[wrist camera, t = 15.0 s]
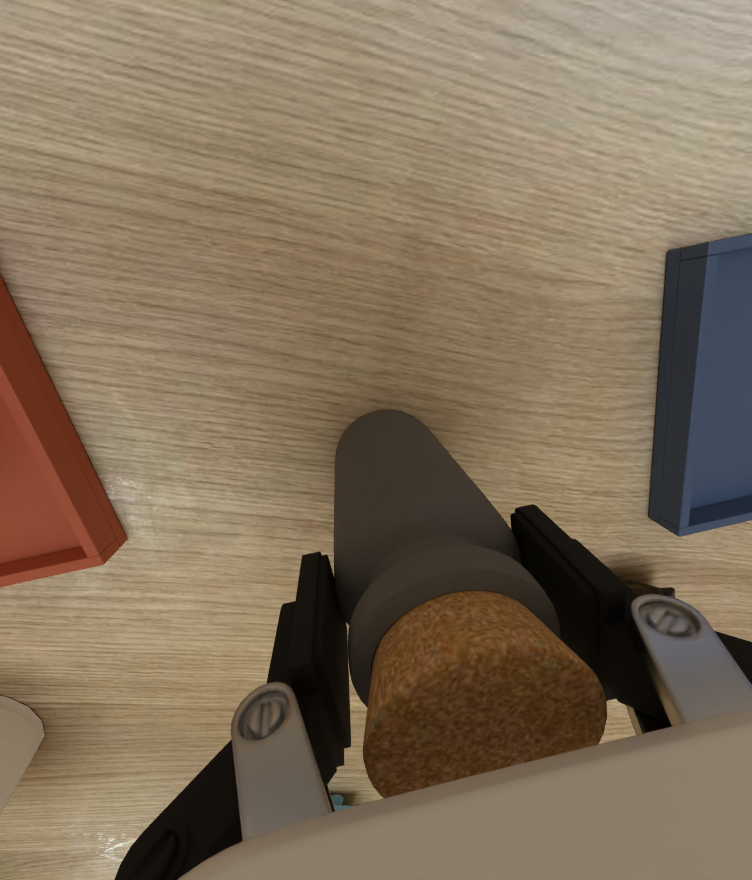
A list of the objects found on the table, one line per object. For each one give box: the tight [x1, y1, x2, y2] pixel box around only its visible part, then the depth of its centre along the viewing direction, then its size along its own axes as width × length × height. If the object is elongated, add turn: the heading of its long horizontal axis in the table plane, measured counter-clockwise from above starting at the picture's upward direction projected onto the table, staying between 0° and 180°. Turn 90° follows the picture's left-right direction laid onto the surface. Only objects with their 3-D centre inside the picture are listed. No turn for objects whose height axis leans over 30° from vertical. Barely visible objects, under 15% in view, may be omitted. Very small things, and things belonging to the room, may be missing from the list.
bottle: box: [334, 410, 607, 798], centre depth 14 cm, size 6×6×15 cm
